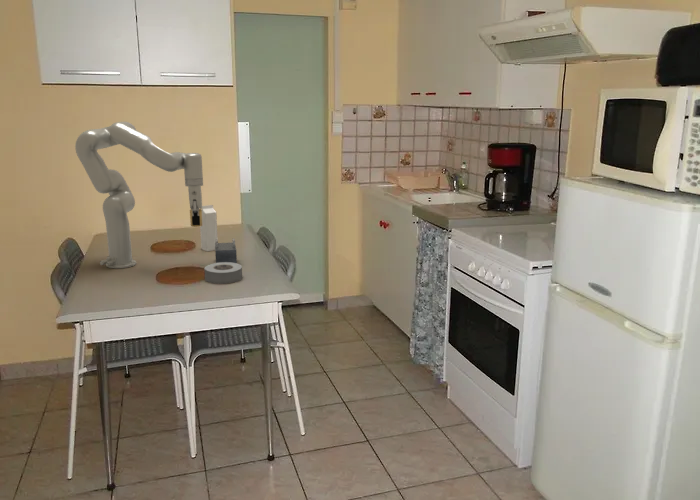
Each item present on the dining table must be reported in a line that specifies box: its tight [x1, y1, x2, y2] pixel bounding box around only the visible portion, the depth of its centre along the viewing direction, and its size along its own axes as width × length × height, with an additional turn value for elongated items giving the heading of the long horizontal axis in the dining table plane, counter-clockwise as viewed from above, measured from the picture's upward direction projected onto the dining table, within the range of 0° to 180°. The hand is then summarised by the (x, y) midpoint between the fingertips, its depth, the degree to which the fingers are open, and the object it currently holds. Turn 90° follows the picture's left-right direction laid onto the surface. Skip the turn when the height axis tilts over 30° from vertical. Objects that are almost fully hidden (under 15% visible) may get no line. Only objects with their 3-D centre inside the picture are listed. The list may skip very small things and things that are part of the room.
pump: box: [189, 208, 202, 228], centre depth 261 cm, size 5×5×8 cm
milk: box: [199, 204, 219, 252], centre depth 293 cm, size 6×6×22 cm
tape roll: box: [204, 262, 243, 285], centre depth 249 cm, size 15×15×5 cm
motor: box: [214, 238, 238, 264], centre depth 271 cm, size 17×9×11 cm, turn 13°
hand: (196, 223), depth 261 cm, fingers closed on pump, 5 cm apart
